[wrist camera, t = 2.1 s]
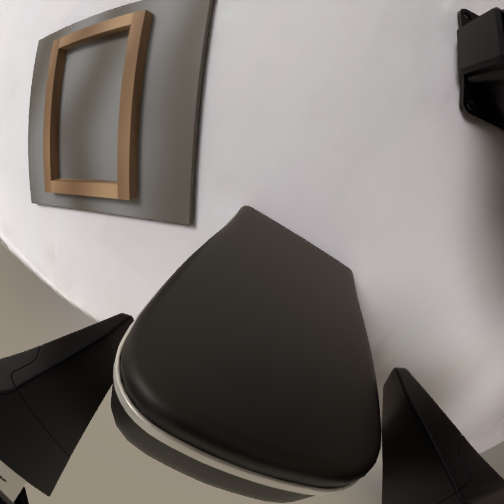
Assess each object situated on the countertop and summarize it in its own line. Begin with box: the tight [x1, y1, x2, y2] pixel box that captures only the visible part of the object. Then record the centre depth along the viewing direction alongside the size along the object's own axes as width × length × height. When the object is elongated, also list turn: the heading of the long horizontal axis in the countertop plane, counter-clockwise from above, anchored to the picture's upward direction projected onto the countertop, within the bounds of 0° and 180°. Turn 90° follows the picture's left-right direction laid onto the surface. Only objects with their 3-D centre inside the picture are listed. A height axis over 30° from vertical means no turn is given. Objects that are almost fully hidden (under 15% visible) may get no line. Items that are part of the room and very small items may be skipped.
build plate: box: [28, 0, 214, 225], centre depth 13 cm, size 14×13×1 cm
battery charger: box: [111, 206, 381, 503], centre depth 10 cm, size 7×4×11 cm, turn 61°
